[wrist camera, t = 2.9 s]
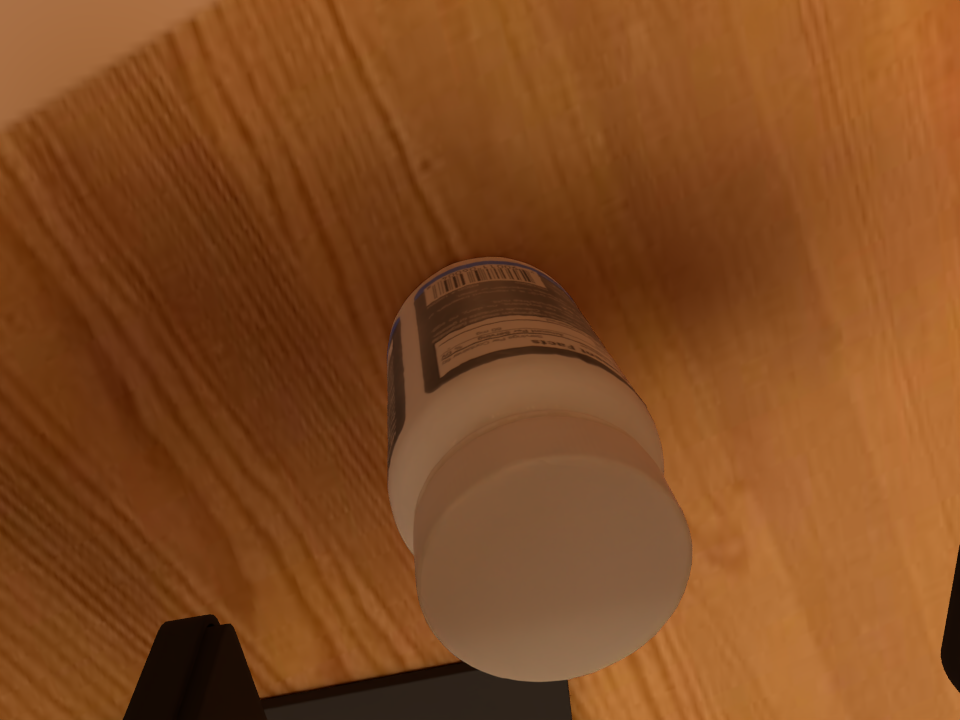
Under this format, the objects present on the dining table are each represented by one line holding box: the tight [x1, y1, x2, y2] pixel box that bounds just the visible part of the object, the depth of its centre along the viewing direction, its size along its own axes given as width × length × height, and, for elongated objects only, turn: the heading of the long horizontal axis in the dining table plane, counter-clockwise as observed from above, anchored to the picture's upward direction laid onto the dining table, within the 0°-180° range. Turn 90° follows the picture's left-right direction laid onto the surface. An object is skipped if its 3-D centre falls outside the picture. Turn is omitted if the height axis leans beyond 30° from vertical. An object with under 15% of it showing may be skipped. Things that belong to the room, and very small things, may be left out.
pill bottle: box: [387, 257, 692, 682], centre depth 14 cm, size 5×5×8 cm
